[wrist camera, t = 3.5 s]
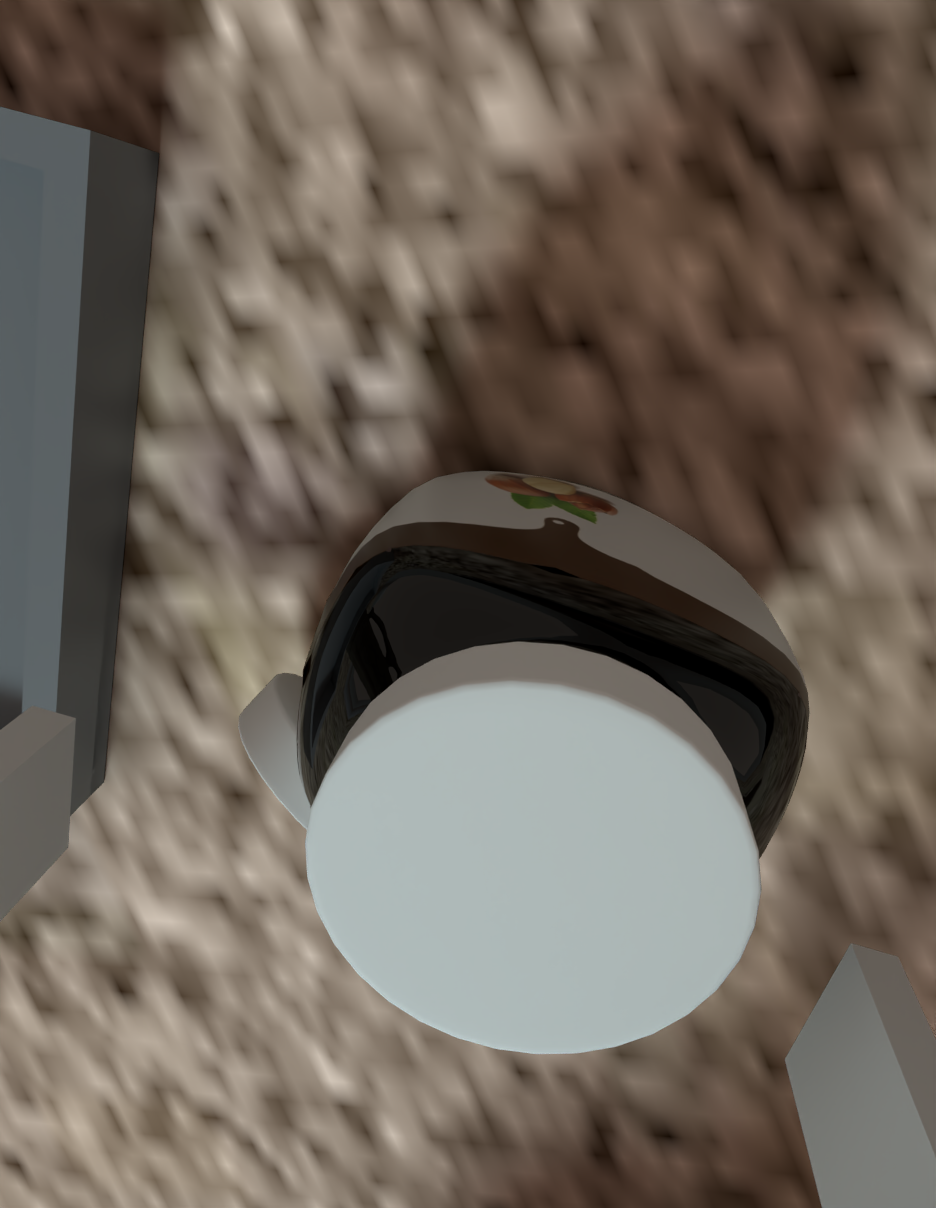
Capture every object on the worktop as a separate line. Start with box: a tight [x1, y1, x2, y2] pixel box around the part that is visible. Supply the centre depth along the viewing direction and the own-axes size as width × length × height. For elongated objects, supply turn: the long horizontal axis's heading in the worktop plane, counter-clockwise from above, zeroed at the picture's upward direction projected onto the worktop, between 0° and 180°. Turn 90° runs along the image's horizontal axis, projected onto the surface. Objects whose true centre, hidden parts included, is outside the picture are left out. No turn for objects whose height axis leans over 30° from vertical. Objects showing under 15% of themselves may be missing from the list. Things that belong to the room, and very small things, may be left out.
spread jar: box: [238, 471, 809, 1054], centre depth 18 cm, size 12×11×12 cm
